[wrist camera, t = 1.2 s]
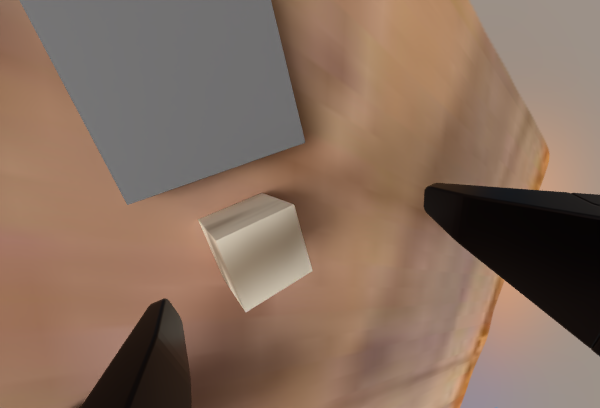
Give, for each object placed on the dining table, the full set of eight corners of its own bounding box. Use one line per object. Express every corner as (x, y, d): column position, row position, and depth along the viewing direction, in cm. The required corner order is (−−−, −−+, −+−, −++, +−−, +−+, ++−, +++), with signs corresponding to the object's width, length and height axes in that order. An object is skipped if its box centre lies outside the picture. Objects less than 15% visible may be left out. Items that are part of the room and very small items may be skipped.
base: (284, 143, 20) (305, 142, 18) (129, 195, 15) (127, 204, 13) (238, -29, 16) (256, -61, 14) (13, -29, 12) (-21, -77, 9)
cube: (279, 247, 22) (312, 270, 18) (222, 277, 20) (245, 312, 15) (261, 192, 20) (293, 204, 16) (197, 219, 18) (215, 240, 14)
